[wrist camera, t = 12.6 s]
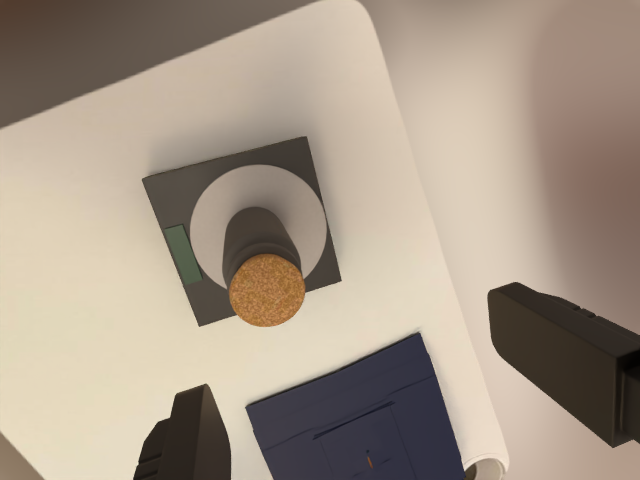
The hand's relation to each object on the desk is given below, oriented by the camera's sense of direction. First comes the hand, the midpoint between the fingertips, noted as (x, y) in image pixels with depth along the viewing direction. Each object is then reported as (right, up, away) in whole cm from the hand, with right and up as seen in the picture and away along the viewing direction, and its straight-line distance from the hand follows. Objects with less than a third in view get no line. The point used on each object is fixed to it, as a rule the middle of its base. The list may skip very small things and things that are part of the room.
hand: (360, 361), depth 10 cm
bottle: (-8, +4, +27) cm, 28 cm away
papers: (+5, -26, +42) cm, 49 cm away
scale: (-9, +4, +30) cm, 31 cm away
